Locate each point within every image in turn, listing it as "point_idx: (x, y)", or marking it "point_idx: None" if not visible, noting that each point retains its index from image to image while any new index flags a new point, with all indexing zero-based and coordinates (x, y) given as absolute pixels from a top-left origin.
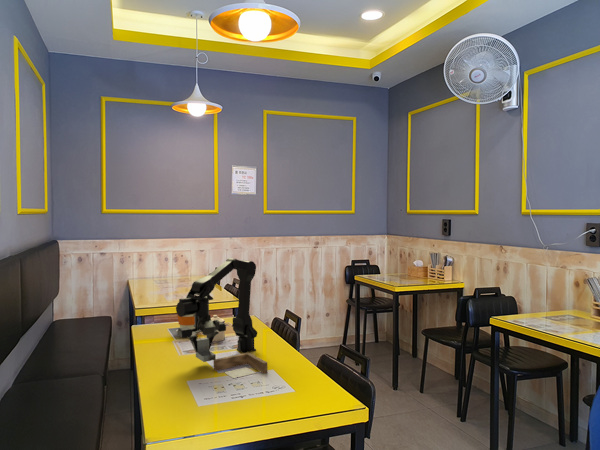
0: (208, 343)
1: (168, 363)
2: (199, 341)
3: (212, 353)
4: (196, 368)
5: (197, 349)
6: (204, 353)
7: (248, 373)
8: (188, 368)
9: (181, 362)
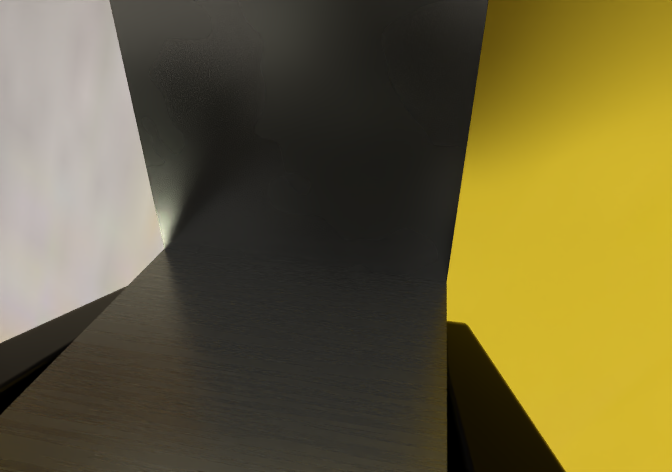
0: (60, 378)
1: (657, 468)
2: None
3: (136, 3)
4: (518, 84)
5: (444, 347)
6: (322, 150)
7: None
8: (613, 168)
9: (524, 406)
